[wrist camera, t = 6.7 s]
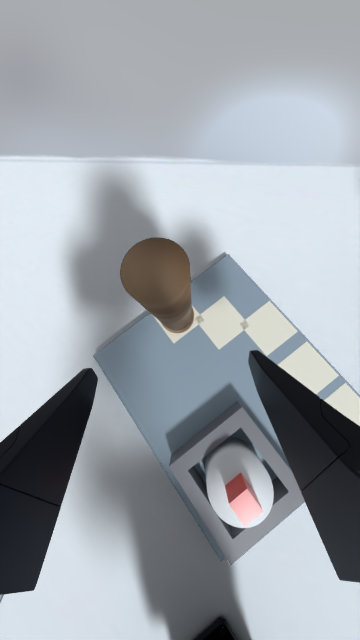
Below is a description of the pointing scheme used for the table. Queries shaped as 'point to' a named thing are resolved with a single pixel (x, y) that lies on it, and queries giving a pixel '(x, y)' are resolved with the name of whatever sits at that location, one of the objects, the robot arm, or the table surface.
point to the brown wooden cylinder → (160, 281)
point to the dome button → (238, 484)
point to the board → (218, 392)
